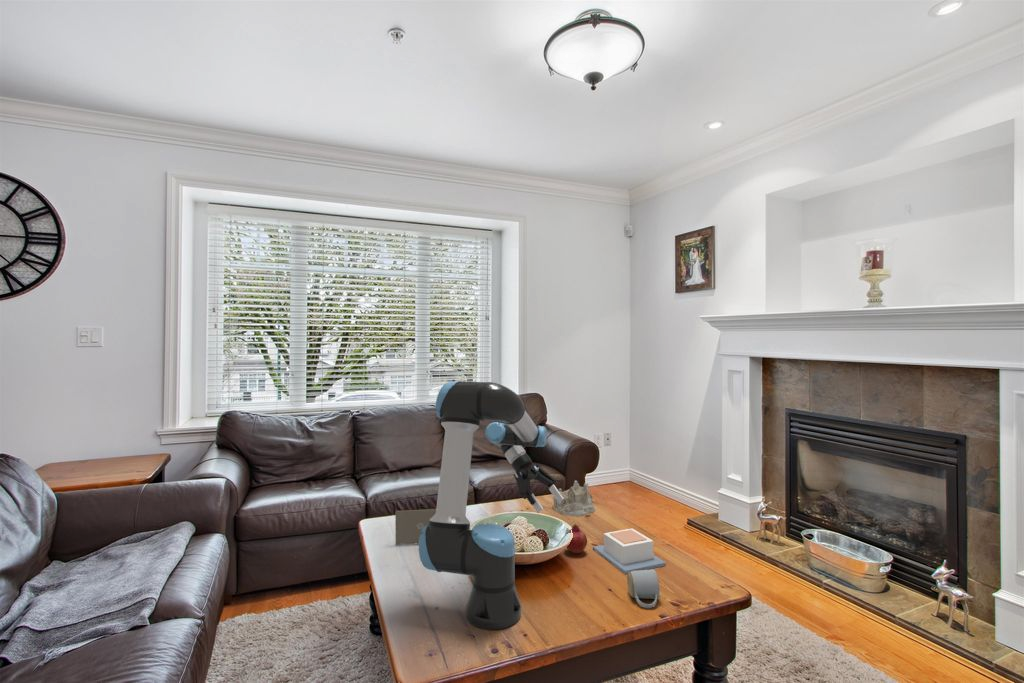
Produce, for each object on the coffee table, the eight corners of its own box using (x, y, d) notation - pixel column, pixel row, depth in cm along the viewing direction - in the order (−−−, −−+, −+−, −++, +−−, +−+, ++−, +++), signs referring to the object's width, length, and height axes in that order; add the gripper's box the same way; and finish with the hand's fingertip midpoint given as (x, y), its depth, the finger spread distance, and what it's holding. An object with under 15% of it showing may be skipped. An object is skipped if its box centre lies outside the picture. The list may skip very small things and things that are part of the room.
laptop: (444, 530, 198) (444, 497, 198) (445, 543, 185) (444, 508, 185) (398, 533, 195) (398, 500, 195) (395, 546, 183) (395, 511, 183)
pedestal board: (665, 565, 166) (665, 543, 166) (625, 574, 160) (625, 551, 160) (630, 542, 185) (630, 522, 185) (592, 549, 179) (592, 529, 179)
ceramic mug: (626, 590, 150) (626, 564, 150) (653, 589, 150) (653, 564, 150) (634, 609, 140) (634, 582, 140) (663, 609, 140) (663, 582, 140)
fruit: (591, 551, 178) (591, 523, 177) (580, 559, 171) (580, 530, 171) (570, 546, 182) (570, 518, 182) (560, 554, 175) (560, 525, 175)
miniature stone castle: (600, 511, 218) (597, 477, 218) (570, 520, 209) (567, 484, 209) (577, 503, 231) (575, 471, 231) (548, 511, 222) (546, 477, 223)
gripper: (532, 458, 204) (563, 502, 194) (492, 471, 184) (525, 521, 175) (542, 447, 200) (575, 491, 191) (503, 459, 181) (537, 509, 171)
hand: (551, 506), depth 183 cm, fingers open, 13 cm apart
